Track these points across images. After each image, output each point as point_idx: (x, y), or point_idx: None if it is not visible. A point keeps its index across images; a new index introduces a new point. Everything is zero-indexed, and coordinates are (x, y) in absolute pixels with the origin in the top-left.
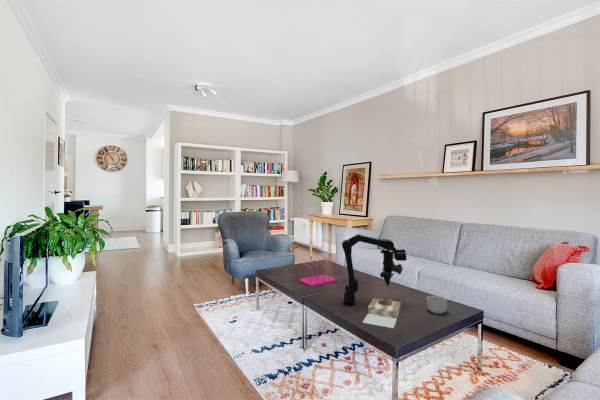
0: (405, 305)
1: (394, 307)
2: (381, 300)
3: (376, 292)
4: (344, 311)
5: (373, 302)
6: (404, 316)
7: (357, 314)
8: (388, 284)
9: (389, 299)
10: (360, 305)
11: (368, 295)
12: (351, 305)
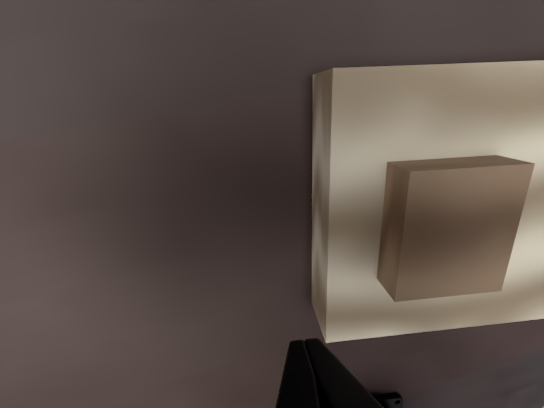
0: (196, 41)
1: (531, 108)
2: (499, 265)
3: (5, 365)
4: (495, 396)
5: (442, 313)
6: (498, 6)
7: (526, 329)
8: (333, 365)
9: (445, 198)
10: (369, 363)
11: (131, 388)
12: (400, 402)
